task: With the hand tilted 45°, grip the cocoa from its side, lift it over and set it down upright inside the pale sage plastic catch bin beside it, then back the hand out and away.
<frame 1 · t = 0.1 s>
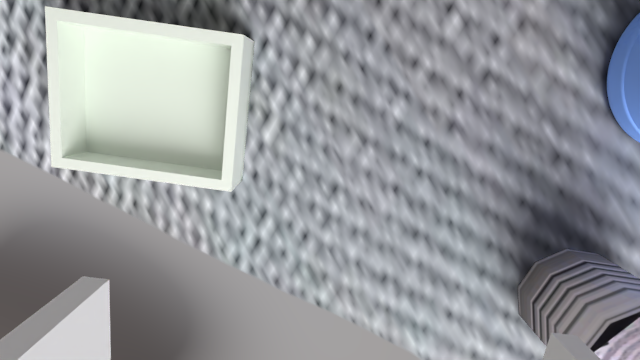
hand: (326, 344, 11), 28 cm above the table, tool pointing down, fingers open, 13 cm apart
can: (565, 293, 41), on the table
catch bin: (165, 102, 37), on the table
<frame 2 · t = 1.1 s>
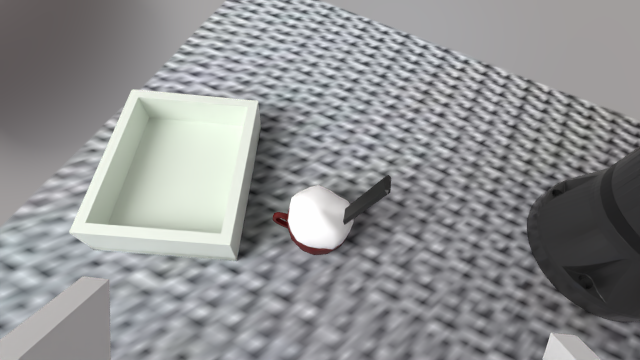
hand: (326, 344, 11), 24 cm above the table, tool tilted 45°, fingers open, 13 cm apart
cocoa: (319, 235, 38), on the table
catch bin: (186, 181, 40), on the table
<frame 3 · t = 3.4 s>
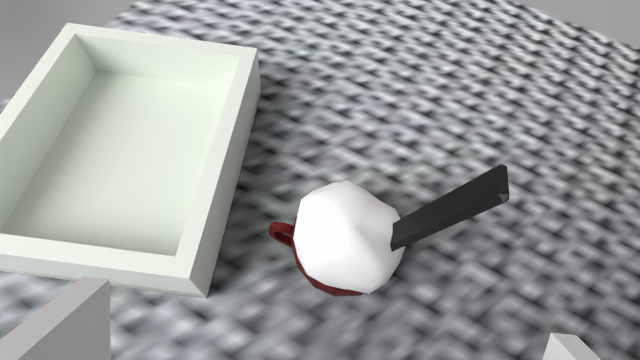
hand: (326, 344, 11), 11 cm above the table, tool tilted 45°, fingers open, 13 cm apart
cocoa: (342, 260, 24), on the table
catch bin: (142, 165, 26), on the table
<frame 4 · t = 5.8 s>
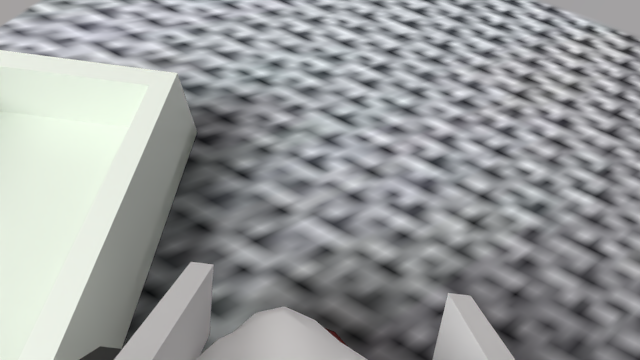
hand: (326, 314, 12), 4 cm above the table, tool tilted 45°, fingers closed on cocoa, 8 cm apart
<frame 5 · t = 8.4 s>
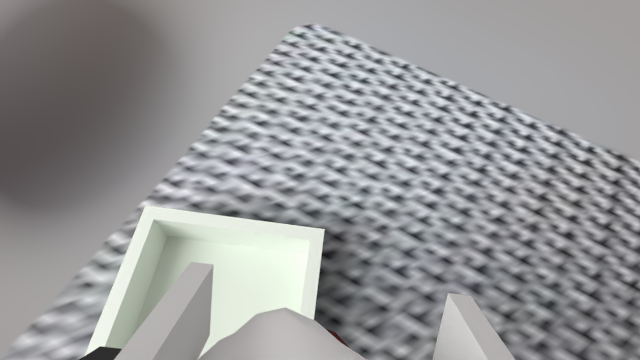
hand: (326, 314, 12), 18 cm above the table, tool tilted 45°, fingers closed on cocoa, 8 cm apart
catch bin: (217, 343, 28), on the table
when the fingers open (7 cm above the table, at t = 11.2 s): cocoa drops 1 cm, resting on catch bin.
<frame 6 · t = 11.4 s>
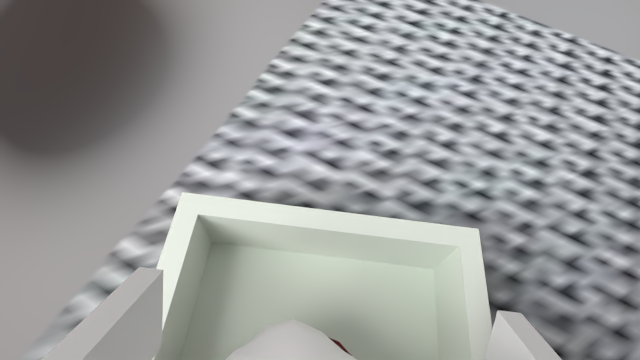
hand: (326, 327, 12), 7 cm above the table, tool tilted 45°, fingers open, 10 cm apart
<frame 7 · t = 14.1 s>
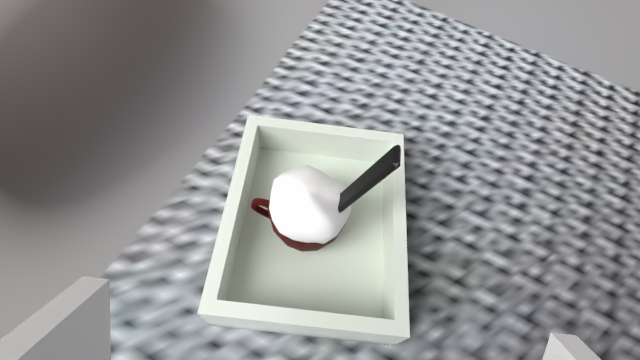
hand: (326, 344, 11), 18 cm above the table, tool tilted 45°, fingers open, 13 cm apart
cocoa: (309, 228, 31), point 1 cm above the table, touching catch bin
catch bin: (313, 231, 32), on the table
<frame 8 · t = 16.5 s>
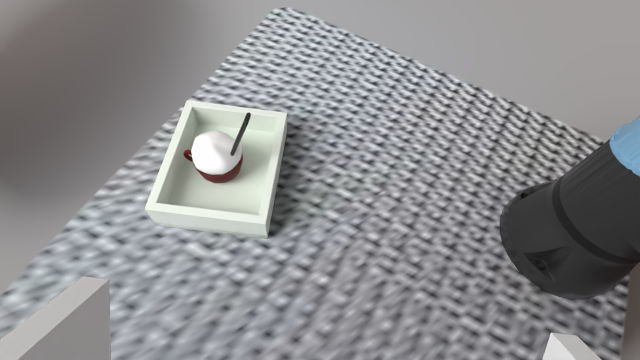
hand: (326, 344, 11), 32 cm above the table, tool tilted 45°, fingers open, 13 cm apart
cocoa: (223, 171, 49), point 1 cm above the table, touching catch bin
catch bin: (227, 175, 50), on the table
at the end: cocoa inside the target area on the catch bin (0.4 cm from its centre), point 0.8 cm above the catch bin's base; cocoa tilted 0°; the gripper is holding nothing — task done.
